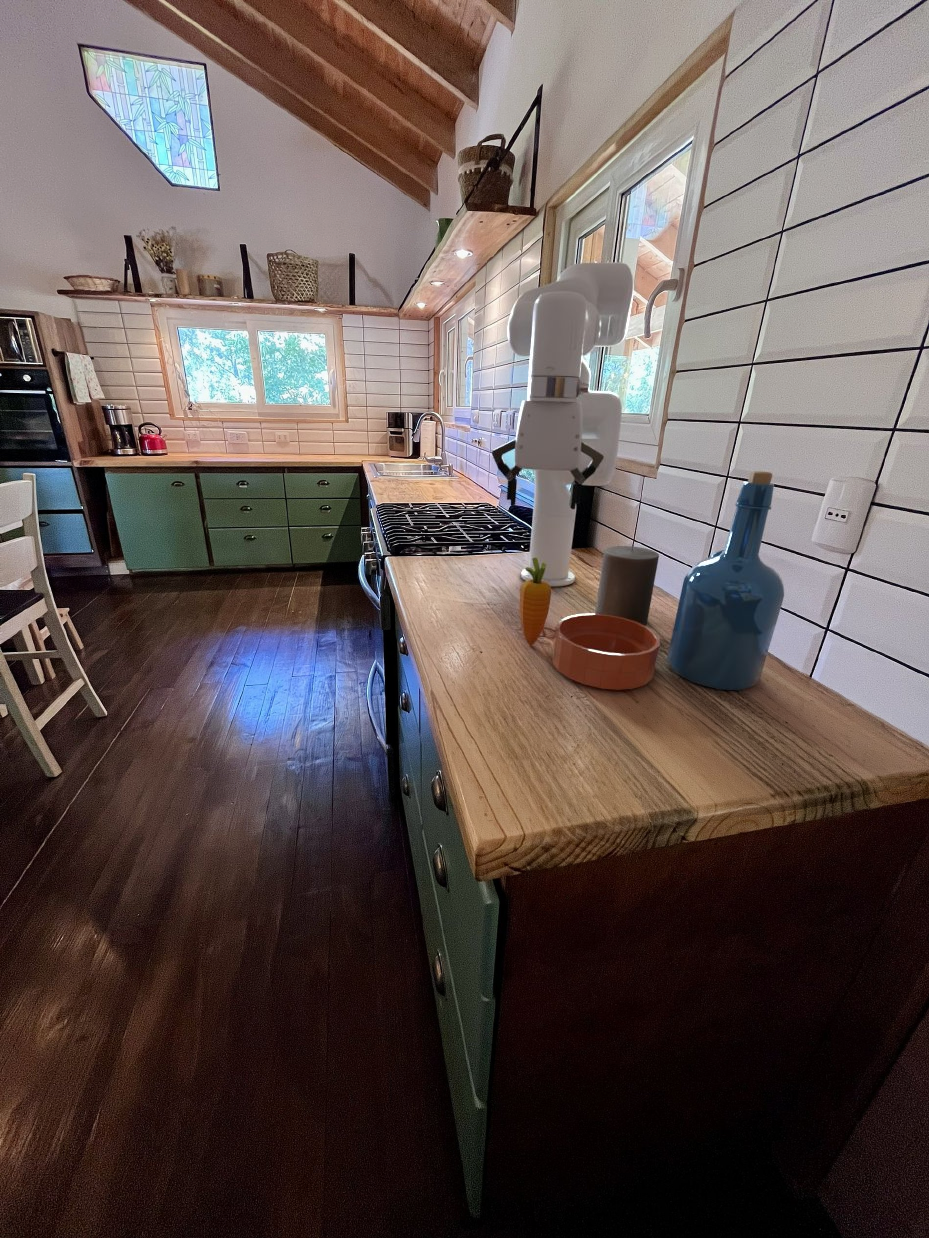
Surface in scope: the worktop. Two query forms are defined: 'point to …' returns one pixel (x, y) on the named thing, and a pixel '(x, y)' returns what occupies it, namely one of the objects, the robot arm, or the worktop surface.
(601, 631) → the bowl
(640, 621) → the pillar candle
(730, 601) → the wine bottle
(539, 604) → the carrot
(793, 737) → the worktop surface
